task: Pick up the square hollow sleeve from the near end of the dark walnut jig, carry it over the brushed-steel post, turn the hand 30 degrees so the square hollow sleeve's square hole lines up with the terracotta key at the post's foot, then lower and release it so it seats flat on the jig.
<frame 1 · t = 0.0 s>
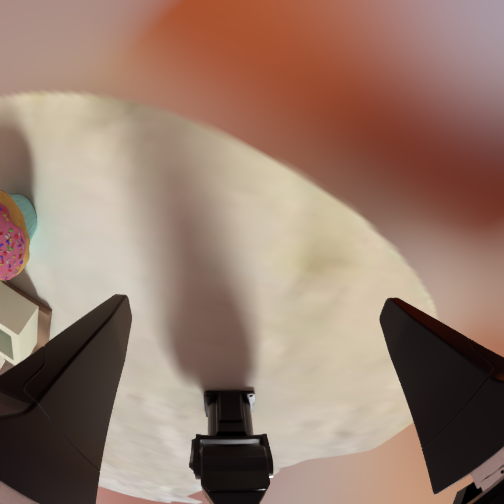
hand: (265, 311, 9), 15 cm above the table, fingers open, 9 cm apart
jig: (19, 331, 27), on the table
cupcake: (21, 217, 21), on the table
square hollow sleeve: (15, 312, 24), point 1 cm above the table, touching jig
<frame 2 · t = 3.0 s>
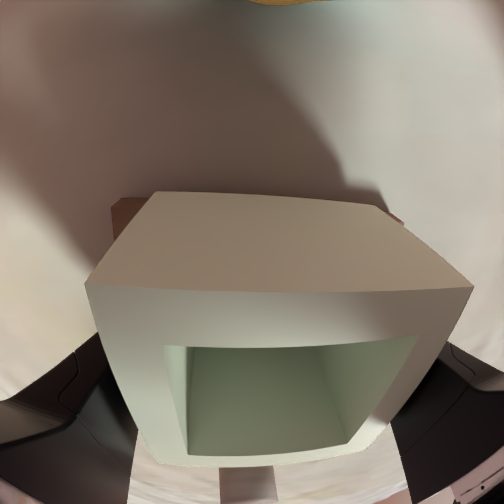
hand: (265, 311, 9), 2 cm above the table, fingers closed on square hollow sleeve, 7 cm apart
jig: (247, 364, 13), on the table
square hollow sleeve: (261, 292, 10), point 1 cm above the table, touching gripper, jig
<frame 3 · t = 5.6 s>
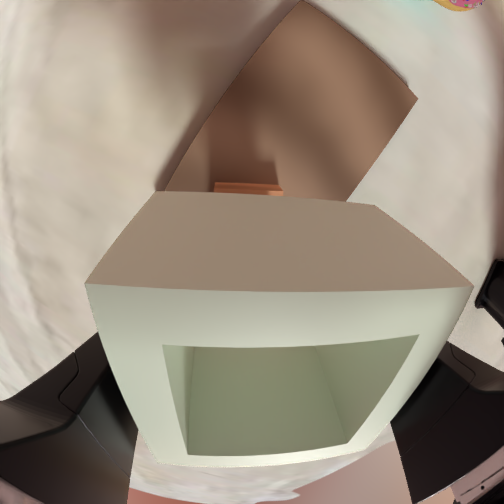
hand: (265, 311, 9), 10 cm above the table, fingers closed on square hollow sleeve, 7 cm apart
jig: (293, 138, 16), on the table
square hollow sleeve: (261, 292, 10), point 9 cm above the table, touching gripper
when the fingers open (4 cm above the table, at t = 8.2 s): square hollow sleeve drops 2 cm, resting on jig.
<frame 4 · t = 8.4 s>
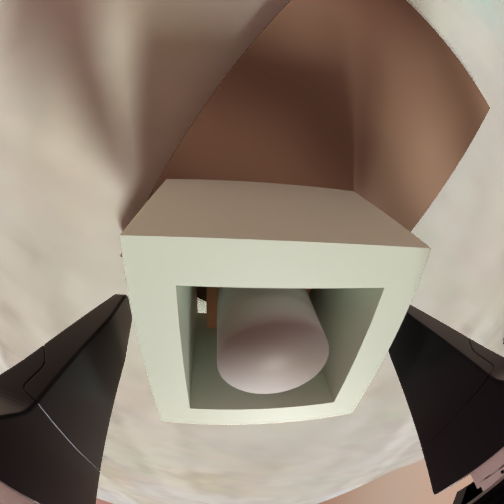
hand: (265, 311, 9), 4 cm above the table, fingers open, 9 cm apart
jig: (331, 152, 11), on the table
square hollow sleeve: (256, 268, 12), point 1 cm above the table, touching jig
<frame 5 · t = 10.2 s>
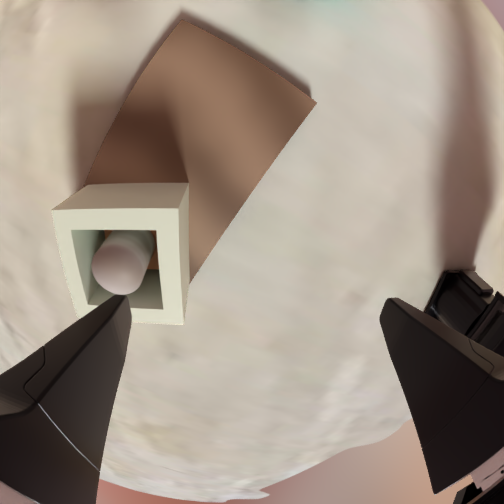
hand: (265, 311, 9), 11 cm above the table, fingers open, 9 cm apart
jig: (178, 160, 17), on the table
square hollow sleeve: (138, 233, 18), point 1 cm above the table, touching jig
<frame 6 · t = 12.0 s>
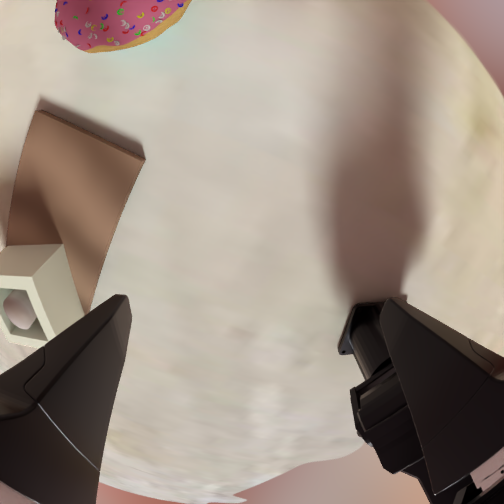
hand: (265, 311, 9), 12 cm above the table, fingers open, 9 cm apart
jig: (58, 224, 19), on the table
cupcake: (143, 12, 13), on the table
square hollow sleeve: (43, 280, 20), point 1 cm above the table, touching jig
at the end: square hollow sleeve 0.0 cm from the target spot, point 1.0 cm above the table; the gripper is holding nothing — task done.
